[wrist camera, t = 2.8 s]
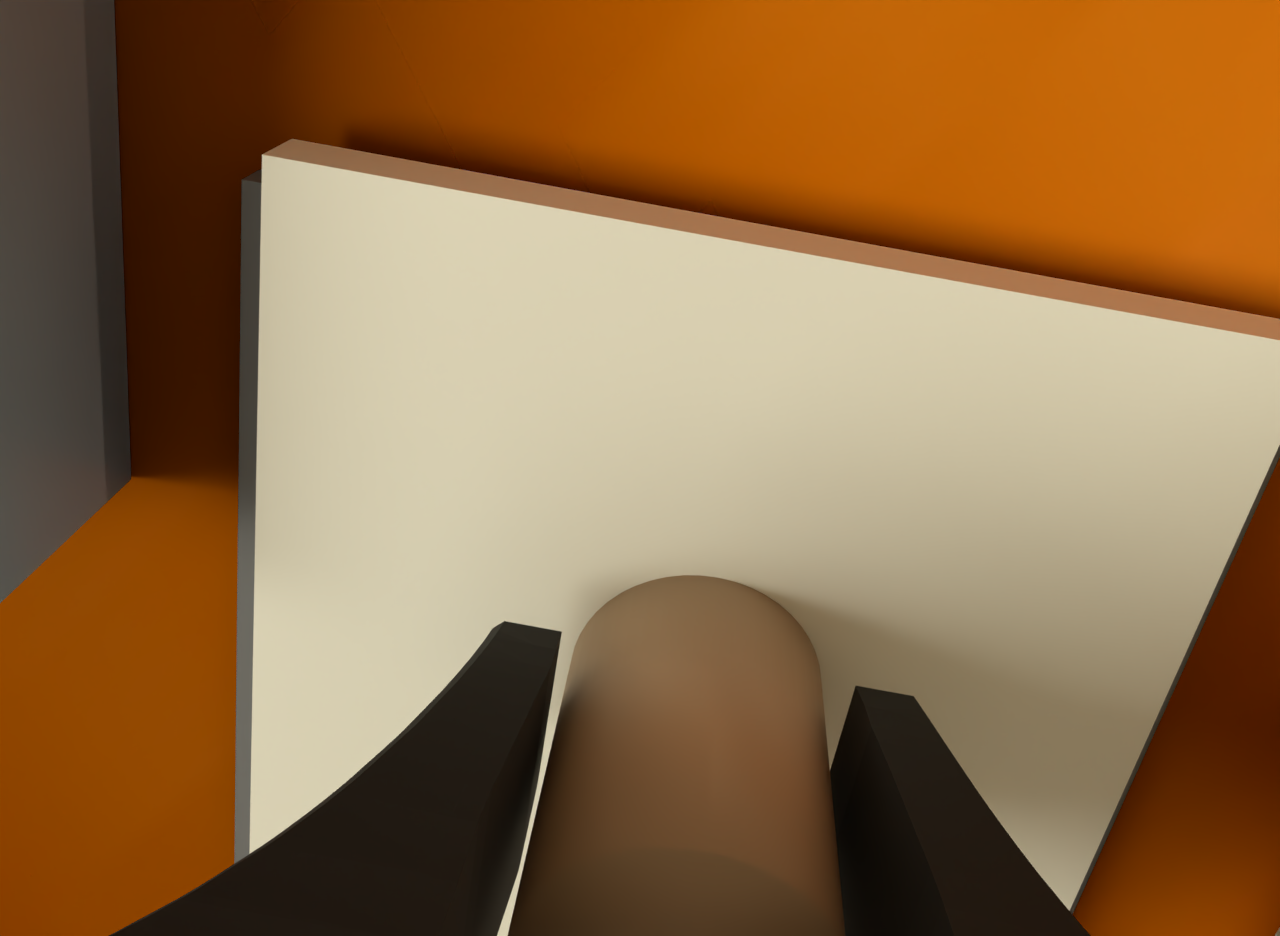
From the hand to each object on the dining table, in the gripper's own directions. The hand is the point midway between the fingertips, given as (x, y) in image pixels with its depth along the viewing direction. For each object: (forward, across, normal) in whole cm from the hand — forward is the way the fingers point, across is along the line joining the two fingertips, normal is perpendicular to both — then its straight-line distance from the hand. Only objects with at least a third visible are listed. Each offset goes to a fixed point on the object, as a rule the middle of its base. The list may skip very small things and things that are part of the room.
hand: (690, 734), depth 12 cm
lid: (+2, 0, 0) cm, 2 cm away
